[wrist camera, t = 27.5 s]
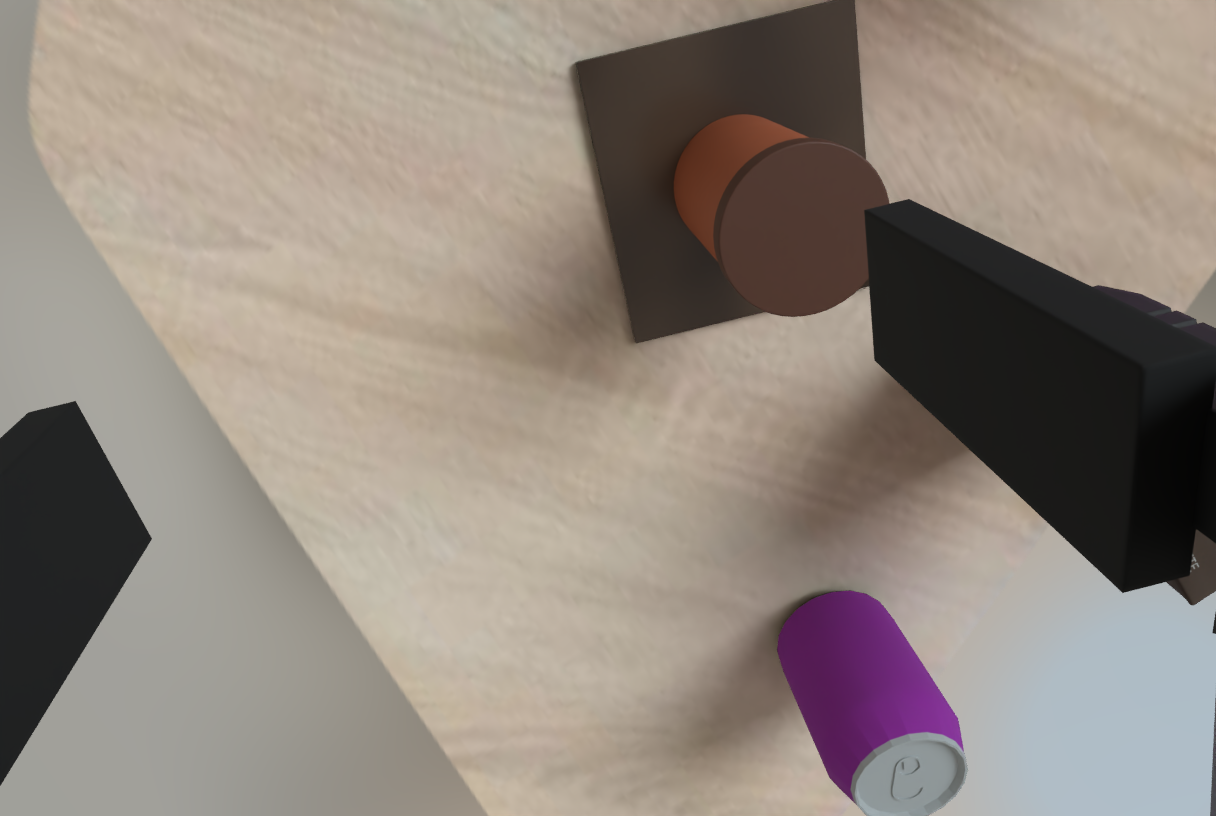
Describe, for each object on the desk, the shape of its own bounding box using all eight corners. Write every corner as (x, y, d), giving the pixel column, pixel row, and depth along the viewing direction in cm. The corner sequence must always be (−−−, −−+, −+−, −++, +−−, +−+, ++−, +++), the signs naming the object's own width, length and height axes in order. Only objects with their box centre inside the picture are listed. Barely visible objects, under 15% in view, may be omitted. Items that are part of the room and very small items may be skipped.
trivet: (634, 340, 45) (635, 343, 45) (575, 61, 39) (576, 62, 38) (872, 282, 45) (875, 284, 45) (851, -5, 39) (854, -5, 39)
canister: (682, 265, 43) (732, 335, 34) (657, 128, 40) (706, 165, 31) (812, 233, 43) (896, 294, 34) (797, 94, 40) (885, 121, 31)
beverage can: (768, 596, 54) (837, 745, 43) (886, 571, 54) (984, 713, 43) (776, 686, 57) (842, 846, 46) (887, 662, 57) (979, 815, 46)
